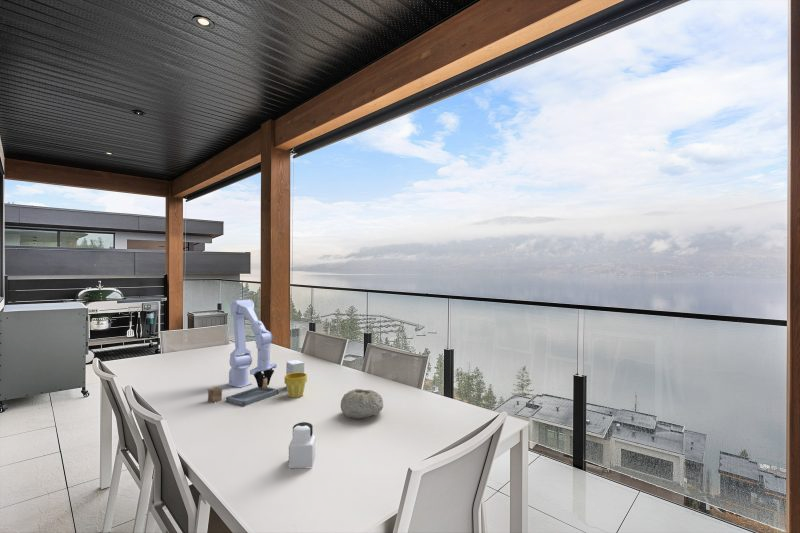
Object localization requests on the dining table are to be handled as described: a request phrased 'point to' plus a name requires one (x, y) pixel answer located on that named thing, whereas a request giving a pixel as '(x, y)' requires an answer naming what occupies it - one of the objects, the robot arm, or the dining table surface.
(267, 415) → the dining table surface
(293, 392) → the plant pot
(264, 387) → the oak peg
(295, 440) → the white boxy piece
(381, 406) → the round stone vase
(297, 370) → the small box
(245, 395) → the parts tray
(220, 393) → the walnut block
